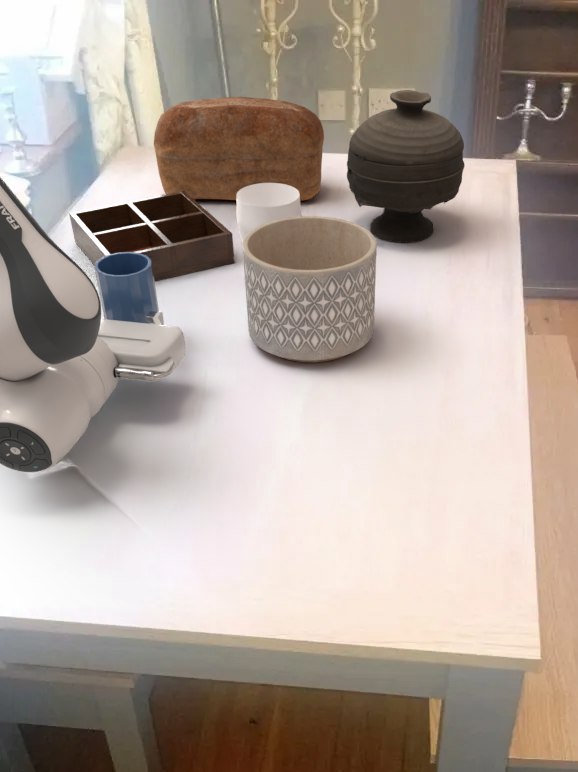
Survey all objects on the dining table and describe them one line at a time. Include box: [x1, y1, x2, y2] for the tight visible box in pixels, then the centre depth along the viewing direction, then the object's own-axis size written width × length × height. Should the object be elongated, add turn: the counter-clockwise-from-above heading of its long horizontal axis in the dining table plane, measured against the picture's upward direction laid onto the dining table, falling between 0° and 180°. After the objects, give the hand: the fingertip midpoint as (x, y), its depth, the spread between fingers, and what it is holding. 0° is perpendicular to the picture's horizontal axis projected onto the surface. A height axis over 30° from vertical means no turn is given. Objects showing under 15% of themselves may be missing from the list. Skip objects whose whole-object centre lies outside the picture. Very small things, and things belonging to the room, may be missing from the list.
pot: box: [346, 89, 465, 244], centre depth 137 cm, size 18×18×20 cm
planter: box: [241, 215, 378, 363], centre depth 114 cm, size 16×16×13 cm
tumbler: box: [94, 252, 160, 324], centre depth 113 cm, size 7×7×11 cm
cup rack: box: [69, 191, 236, 282], centre depth 136 cm, size 19×19×4 cm
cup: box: [235, 183, 303, 246], centre depth 127 cm, size 9×9×12 cm
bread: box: [153, 96, 325, 202], centre depth 149 cm, size 12×28×14 cm, turn 88°
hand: (121, 313), depth 111 cm, fingers open, 8 cm apart
